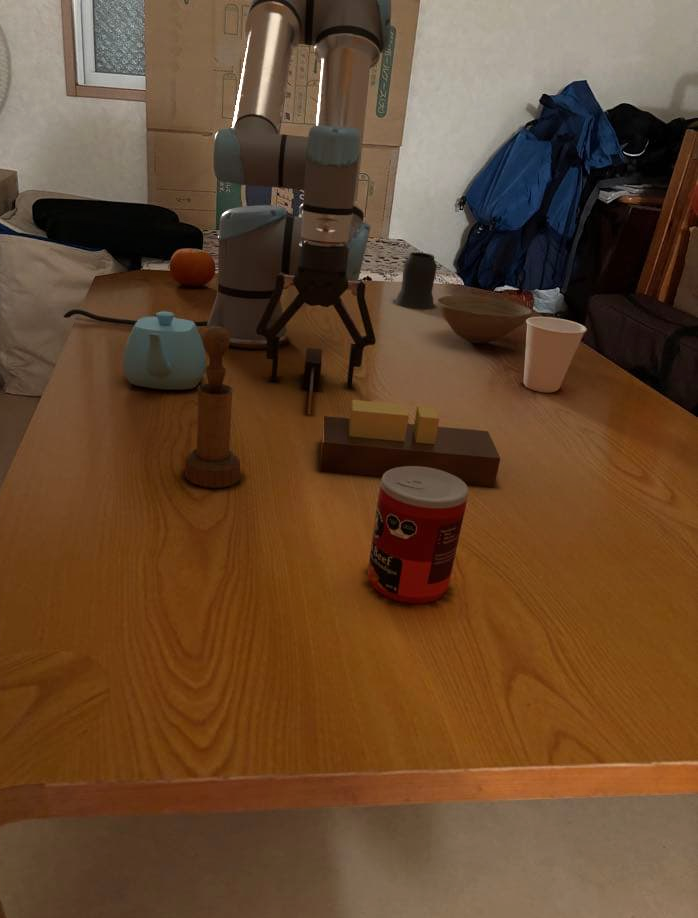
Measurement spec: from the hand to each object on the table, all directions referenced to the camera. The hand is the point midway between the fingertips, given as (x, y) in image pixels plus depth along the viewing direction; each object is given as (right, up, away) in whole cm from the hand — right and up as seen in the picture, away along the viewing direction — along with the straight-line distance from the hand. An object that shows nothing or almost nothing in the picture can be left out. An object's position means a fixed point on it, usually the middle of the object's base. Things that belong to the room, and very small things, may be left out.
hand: (311, 381), depth 127 cm
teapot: (-23, -2, -6) cm, 24 cm away
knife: (0, -3, -4) cm, 5 cm away
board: (+11, -16, -26) cm, 33 cm away
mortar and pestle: (-13, -19, -33) cm, 40 cm away
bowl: (+34, +14, +31) cm, 48 cm away
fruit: (-27, +34, +56) cm, 71 cm away
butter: (+8, -12, -28) cm, 31 cm away
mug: (+26, +31, +59) cm, 71 cm away
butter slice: (+14, -13, -28) cm, 34 cm away
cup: (+40, +1, +8) cm, 41 cm away
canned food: (+8, -30, -51) cm, 60 cm away
